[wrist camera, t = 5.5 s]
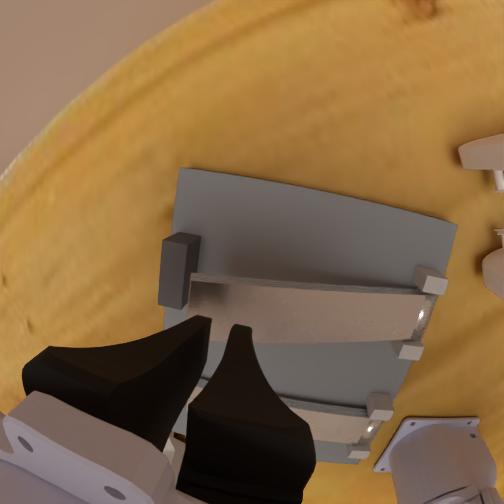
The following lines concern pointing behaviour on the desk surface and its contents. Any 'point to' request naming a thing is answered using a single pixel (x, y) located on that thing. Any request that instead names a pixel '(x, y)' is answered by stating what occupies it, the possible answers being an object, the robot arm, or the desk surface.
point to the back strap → (326, 420)
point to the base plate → (305, 280)
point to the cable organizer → (497, 159)
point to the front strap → (308, 310)
